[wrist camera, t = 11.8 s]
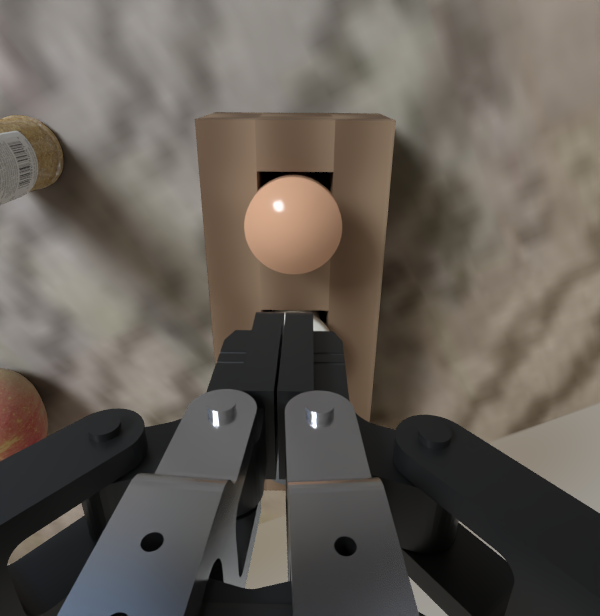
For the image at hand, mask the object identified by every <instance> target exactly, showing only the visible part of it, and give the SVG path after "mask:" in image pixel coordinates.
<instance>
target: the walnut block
mask: <svg viewBox="0 0 600 616" xmlns="http://www.w3.org/2000/svg"><path fill="white" fill-rule="evenodd" d="M395 123H396V121H395V120H393V119H390V118H388V117H386V116H383V115H381V114H361V113H226V112H216V113H213V114H210V115H207V116H204V117H201V118H198V119H195V127H196V139H197V151H198V163H199V175H200V187H201V199H202V211H203V223H204V235H205V247H206V260H207V272H208V284H209V296H210V308H211V320H212V332H213V344H214V356H215V366H216V363H217V360H218V357H219V354H220V351H221V348H222V345H223V342H224V340H225V339H226V338H227V337H228V336H229V335H230V334H231V333H233V332H234V331H235V330H252V326H253V322H254V318H255V314H256V312H269V310H324V324H325V325H326V326H327V327H328V329H329V331H333V332H334V333H335V334H336V335H337V336H338V337H339V338H340V339H341V340H342V342H343V350H344V359H345V367H346V376H347V384H348V393H349V401H350V403H351V404H352V405H353V407H354V410H355V413H356V414H358V415H359V416H360V417H361V418H363V419H364V420H366V421H368V422H370V413H371V401H372V390H373V378H374V367H375V355H376V343H377V332H378V320H379V309H380V297H381V286H382V274H383V262H384V251H385V239H386V228H387V216H388V204H389V193H390V181H391V170H392V158H393V147H394V135H395ZM266 171H276V172H328V190H329V191H330V193H331V194H332V195H333V197H334V198H335V200H336V202H337V204H338V207H339V210H340V214H341V219H342V236H341V239H340V243H339V245H338V248H337V249H336V251H335V253H334V254H333V255H332V257H331V258H330V259H329V260H328V261H327V262H326V263H325V264H323V265H322V266H321V267H319V268H317V269H315V270H313V271H311V272H307V273H303V274H284V273H280V272H277V271H274V270H272V269H270V268H268V267H267V266H265V265H264V264H263V263H261V262H260V261H259V260H258V259H257V258H256V257H255V256H254V254H253V253H252V251H251V250H250V248H249V246H248V243H247V241H246V237H245V231H244V221H245V215H246V212H247V209H248V207H249V204H250V202H251V200H252V198H253V197H254V195H255V194H256V192H257V191H258V190H259V189H260V188H261V187H262V186H263V185H264V184H266ZM264 490H282V491H286V485H283V484H279V483H277V482H275V481H273V480H271V479H265V482H264Z"/></svg>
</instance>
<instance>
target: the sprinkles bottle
mask: <svg viewBox="0 0 600 616" xmlns="http://www.w3.org/2000/svg"><path fill="white" fill-rule="evenodd" d="M63 161H64V159H63V152H62V149H61V146H60V143H59V141H58V139H57V138H56V136H55V135H54V134H53V132H52V131H51V130H50V129H49V128H48V127H46V126H45V125H44V124H43V123H41V122H40V121H39V120H37V119H35V118H32V117H28V116H23V115H20V116H19V115H12V116H8V117H5V118H3V119H0V205H2V204H4V203H7V202H9V201H12V200H14V199H17V198H19V197H22V196H23V195H25V194H27V193H28V192H30V191H33V190H38V189H43V188H46V187H48V186H50V185H51V184H53V183H54V182H55V181H56V180H57V179H58V178H59V176H60V175H61V172H62V170H63V163H64V162H63Z"/></svg>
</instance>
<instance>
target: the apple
mask: <svg viewBox="0 0 600 616" xmlns="http://www.w3.org/2000/svg"><path fill="white" fill-rule="evenodd" d="M47 432H48V418H47V413H46V409H45V406H44V404H43V402H42V399H41V397H40V395H39V393H38V392H37V390H36V389H35V387H34V386H33V385H32V384H31V382H30V381H28V380H27V379H26V378H25V377H23V376H22V375H21V374H19V373H17V372H14V371H11V370H7V369H1V368H0V461H2V460H4V459H6V458H7V457H9V456H11V455H13V454H15V453H17V452H19V451H21V450H23V449H25V448H27V447H29V446H31V445H32V444H34V443H36V442H38V441H40V440H42V439H44V438H46V437H47Z"/></svg>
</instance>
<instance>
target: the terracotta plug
mask: <svg viewBox="0 0 600 616" xmlns="http://www.w3.org/2000/svg"><path fill="white" fill-rule="evenodd" d="M244 231H245V237H246V241H247V243H248V246H249V248H250V250H251V251H252V253H253V254H254V256H255V257H256V258H257V259H258V260H259V261H260V262H261V263H263V264H264V265H265V266H267V267H268V268H270V269H272V270H274V271H277V272H280V273H284V274H303V273H307V272H311V271H313V270H315V269H317V268H319V267H321V266H322V265H323V264H325V263H326V262H327V261H328V260H329V259H330V258H331V257H332V255H333V254H334V253H335V251H336V249H337V248H338V245H339V243H340V239H341V236H342V219H341V214H340V210H339V207H338V204H337V202H336V200H335V198H334V197H333V195H332V194H331V193H330V191H329V190H328V189H327V188H326V187H325V186H324V185H322V184H321V183H319V181H318V180H317V179H316V177H315V176H314V175H312V174H311V173H309V172H283V173H281V174H280V175H279V176H278V177H277V178H275V179H273V180H271V181H269V182H267V183H266V184H264V185H263V186H262V187H261V188H260V189H259V190H258V191H257V192H256V194H255V195H254V197H253V198H252V200H251V202H250V204H249V207H248V209H247V212H246V215H245V221H244Z"/></svg>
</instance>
